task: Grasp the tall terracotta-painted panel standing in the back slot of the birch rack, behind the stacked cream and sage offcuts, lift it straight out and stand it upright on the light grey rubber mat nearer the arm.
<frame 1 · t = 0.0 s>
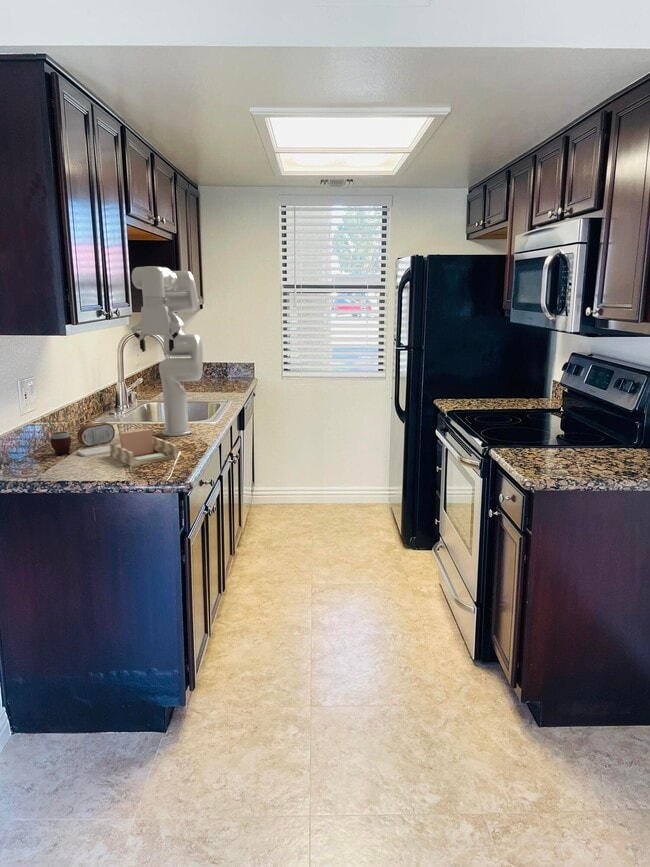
hand: (157, 351, 222), 37 cm above the counter, tool pointing down, fingers open, 9 cm apart
tin: (97, 445, 243), on the counter
rack: (137, 455, 226), on the counter
sheet: (137, 455, 226), on the counter
mate gourd: (61, 454, 228), on the counter
offcut upper: (150, 459, 217), resting on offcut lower
mat: (110, 450, 233), on the counter
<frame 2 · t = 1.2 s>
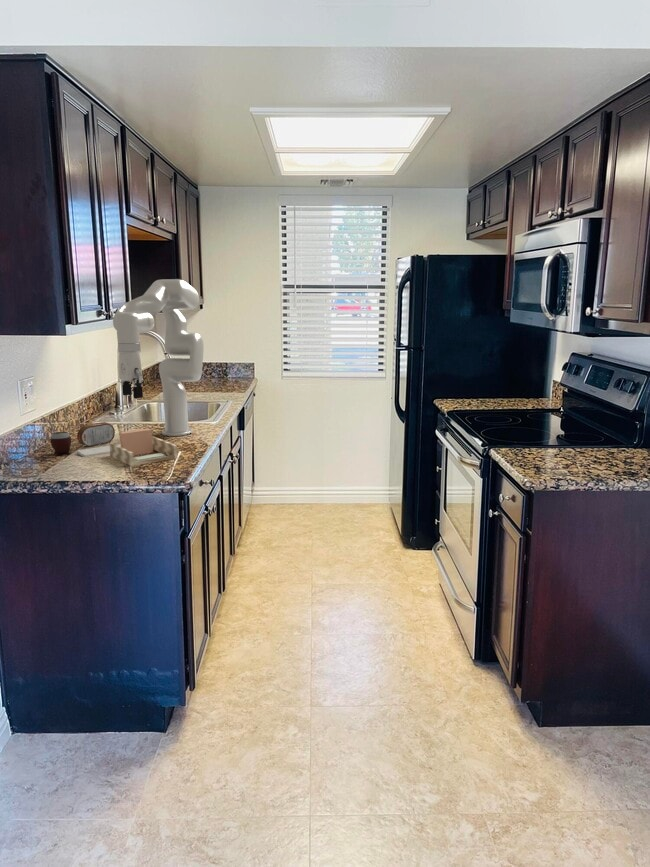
hand: (132, 396, 221), 22 cm above the counter, tool pointing down, fingers open, 9 cm apart
nothing on the counter moved.
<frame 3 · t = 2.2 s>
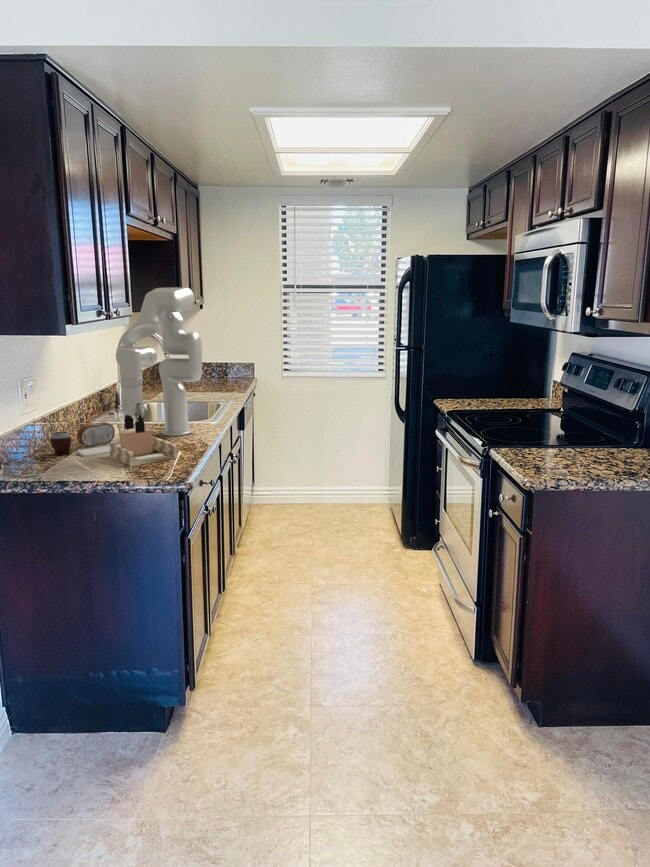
hand: (134, 430, 223), 9 cm above the counter, tool pointing down, fingers open, 9 cm apart
nothing on the counter moved.
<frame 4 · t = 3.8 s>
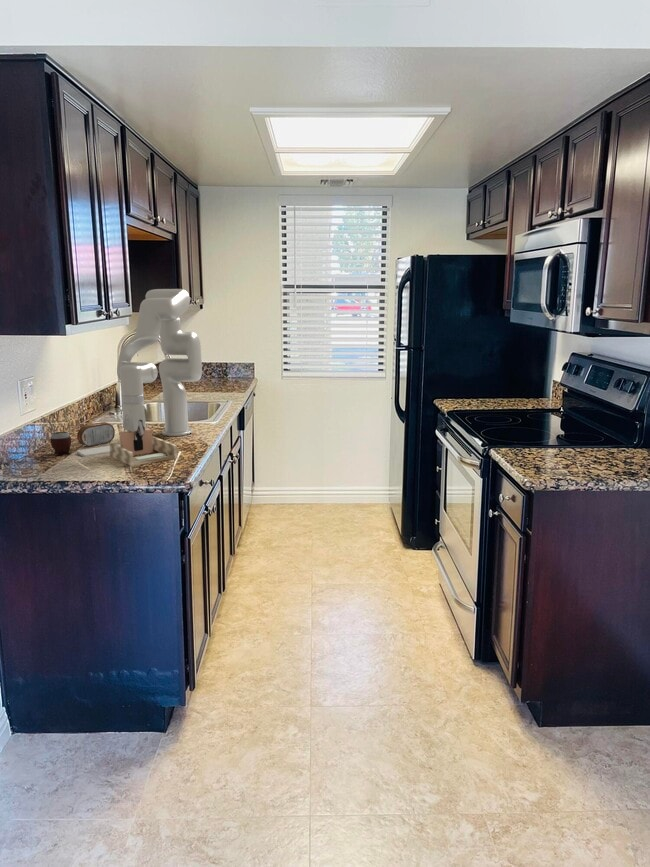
hand: (137, 449, 225), 2 cm above the counter, tool pointing down, fingers closed on sheet, 2 cm apart
sheet: (137, 455, 226), on the counter, touching gripper
offcut upper: (150, 459, 217), resting on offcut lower
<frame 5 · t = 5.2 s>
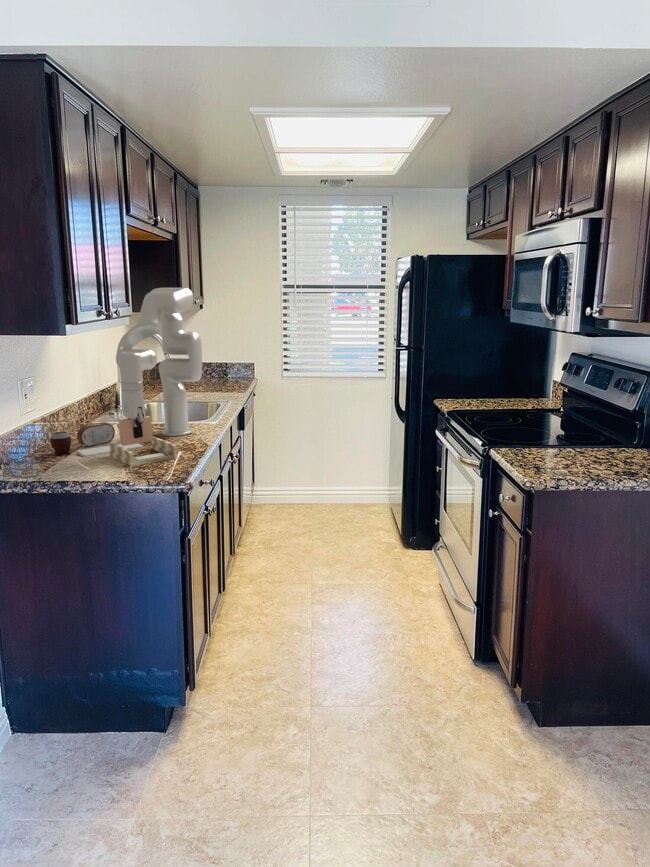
hand: (136, 436, 225), 7 cm above the counter, tool pointing down, fingers closed on sheet, 2 cm apart
sheet: (137, 442, 225), point 5 cm above the counter, touching gripper
offcut upper: (150, 459, 218), resting on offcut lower
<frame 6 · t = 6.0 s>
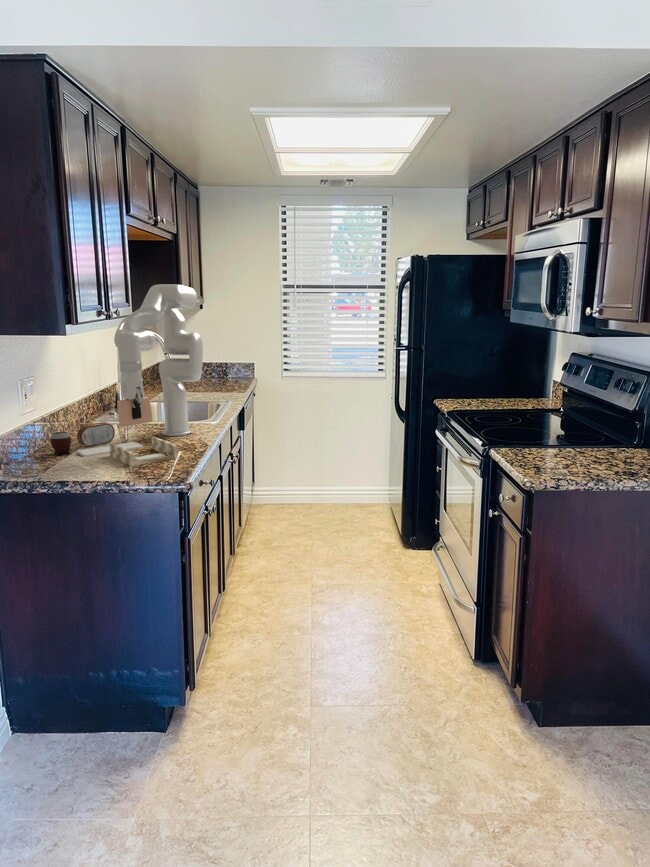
hand: (135, 417, 223), 14 cm above the counter, tool pointing down, fingers closed on sheet, 2 cm apart
sheet: (135, 423, 224), point 12 cm above the counter, touching gripper
everything else where it was.
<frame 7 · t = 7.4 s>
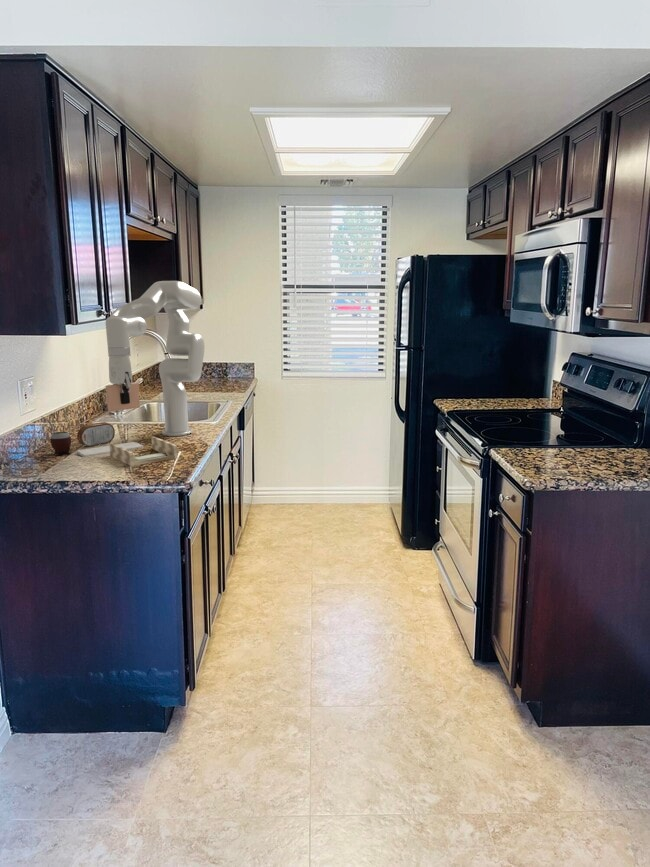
hand: (123, 402, 224), 19 cm above the counter, tool pointing down, fingers closed on sheet, 2 cm apart
sheet: (124, 409, 225), point 17 cm above the counter, touching gripper
everything else where it was.
when the fingers open (4 cm above the counter, at t = 11.0 s): sheet stays where it is, resting on mat.
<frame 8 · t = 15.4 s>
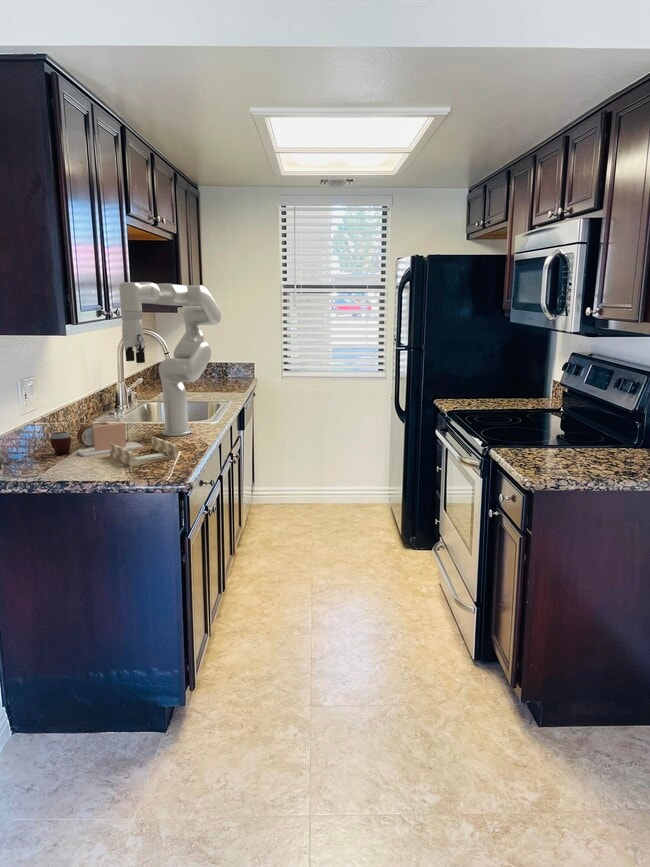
hand: (135, 361, 235), 32 cm above the counter, tool pointing down, fingers open, 9 cm apart
sheet: (110, 448, 232), point 1 cm above the counter, touching mat
everything else where it was.
at the end: sheet inside the target area on the mat (0.0 cm from its centre), point 1.0 cm above the mat's base; sheet tilted 0°; offcut upper moved 0.8 cm from its start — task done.
